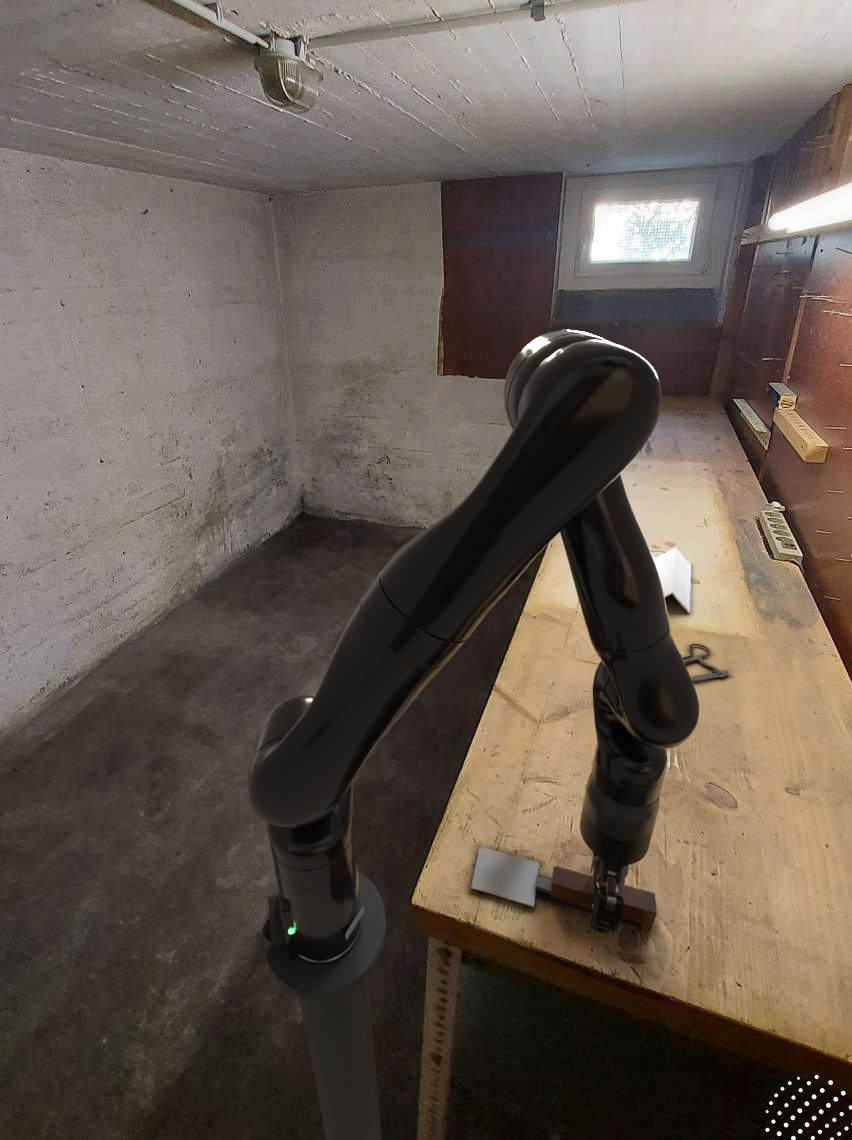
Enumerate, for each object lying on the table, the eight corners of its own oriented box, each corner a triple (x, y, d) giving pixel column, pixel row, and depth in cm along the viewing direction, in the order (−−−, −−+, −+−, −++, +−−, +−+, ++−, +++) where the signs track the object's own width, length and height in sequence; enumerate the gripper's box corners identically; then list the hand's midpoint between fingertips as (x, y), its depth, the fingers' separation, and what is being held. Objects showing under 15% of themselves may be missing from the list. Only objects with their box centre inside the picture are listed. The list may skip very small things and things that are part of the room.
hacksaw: (627, 697, 104) (628, 690, 103) (596, 663, 113) (597, 657, 112) (738, 675, 108) (740, 668, 108) (700, 644, 117) (702, 638, 117)
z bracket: (669, 576, 151) (690, 564, 148) (665, 624, 131) (689, 612, 128) (640, 542, 151) (661, 529, 147) (631, 585, 131) (655, 572, 127)
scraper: (649, 894, 71) (654, 879, 70) (653, 943, 66) (658, 928, 65) (479, 847, 77) (480, 832, 76) (470, 888, 72) (471, 873, 71)
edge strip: (492, 884, 73) (492, 883, 73) (496, 863, 76) (496, 862, 75) (641, 928, 68) (641, 927, 68) (640, 904, 70) (640, 903, 70)
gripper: (585, 753, 70) (570, 841, 77) (582, 856, 58) (564, 949, 65) (650, 767, 68) (629, 856, 75) (661, 877, 56) (634, 971, 63)
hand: (599, 899), depth 70 cm, fingers open, 6 cm apart
